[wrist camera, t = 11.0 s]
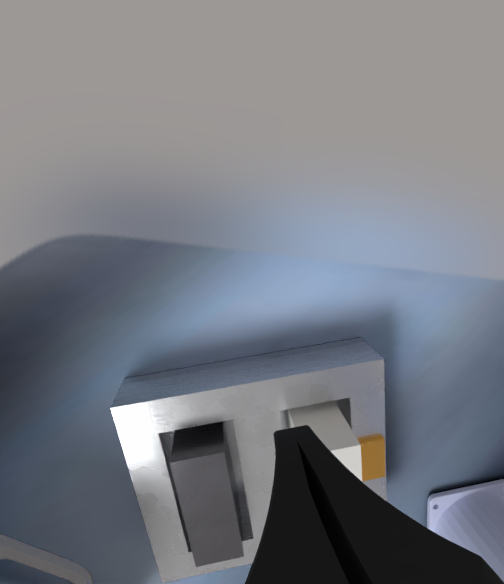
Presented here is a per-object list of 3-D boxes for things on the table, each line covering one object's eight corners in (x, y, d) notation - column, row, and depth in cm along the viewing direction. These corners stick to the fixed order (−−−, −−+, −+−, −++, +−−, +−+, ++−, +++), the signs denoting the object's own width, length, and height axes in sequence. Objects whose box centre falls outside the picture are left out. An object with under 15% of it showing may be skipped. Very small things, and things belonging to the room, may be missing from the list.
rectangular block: (333, 479, 25) (365, 555, 20) (294, 487, 25) (316, 566, 20) (326, 387, 23) (360, 445, 18) (283, 395, 23) (304, 456, 17)
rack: (367, 495, 27) (399, 556, 23) (167, 537, 26) (158, 610, 21) (361, 337, 23) (398, 372, 18) (124, 378, 22) (101, 426, 17)
